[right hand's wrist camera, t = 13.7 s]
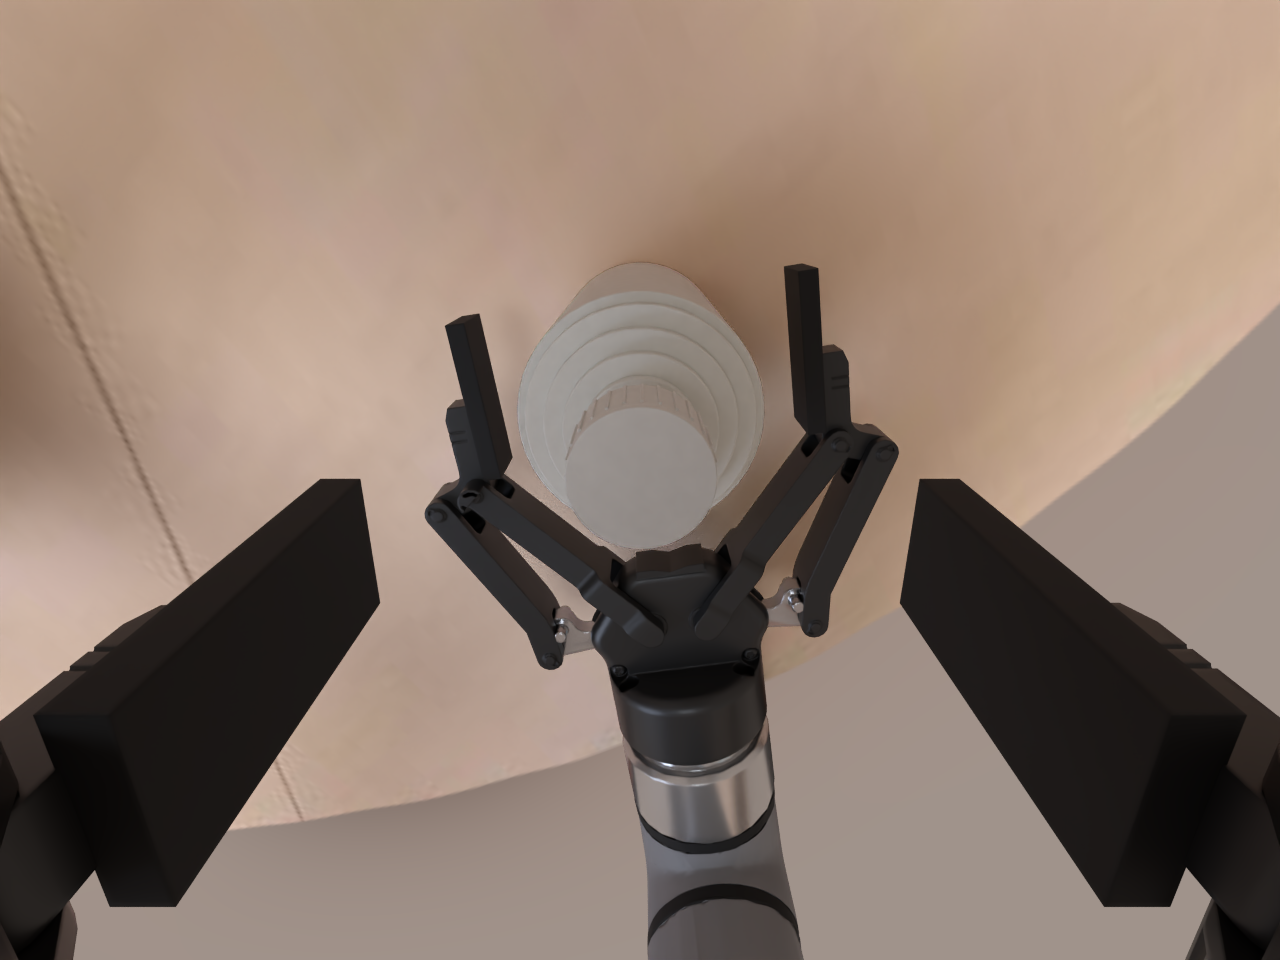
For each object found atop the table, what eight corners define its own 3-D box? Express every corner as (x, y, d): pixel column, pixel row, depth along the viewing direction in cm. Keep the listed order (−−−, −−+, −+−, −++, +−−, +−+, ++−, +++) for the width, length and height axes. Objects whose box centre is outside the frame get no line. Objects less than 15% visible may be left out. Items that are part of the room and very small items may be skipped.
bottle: (605, 232, 32) (564, 249, 15) (747, 310, 33) (862, 409, 16) (536, 377, 35) (434, 536, 17) (672, 444, 36) (701, 654, 19)
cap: (609, 356, 18) (605, 376, 15) (736, 421, 18) (749, 449, 16) (548, 478, 19) (536, 512, 17) (669, 535, 19) (673, 575, 17)
